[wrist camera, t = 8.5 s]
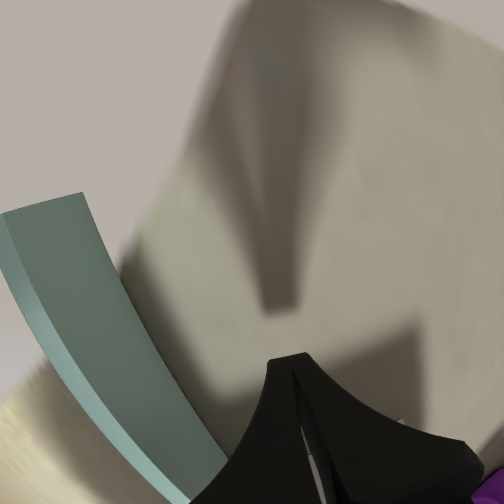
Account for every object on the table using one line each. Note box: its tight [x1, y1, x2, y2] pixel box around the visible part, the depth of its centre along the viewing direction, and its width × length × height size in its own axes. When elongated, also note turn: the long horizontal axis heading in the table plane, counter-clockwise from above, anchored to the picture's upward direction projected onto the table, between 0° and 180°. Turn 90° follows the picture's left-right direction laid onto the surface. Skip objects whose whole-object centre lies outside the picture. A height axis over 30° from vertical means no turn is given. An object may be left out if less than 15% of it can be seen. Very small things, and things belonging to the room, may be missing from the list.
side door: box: [0, 192, 229, 504], centre depth 10 cm, size 15×1×5 cm, turn 20°
